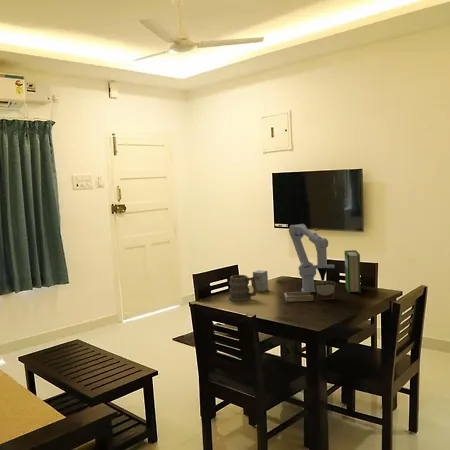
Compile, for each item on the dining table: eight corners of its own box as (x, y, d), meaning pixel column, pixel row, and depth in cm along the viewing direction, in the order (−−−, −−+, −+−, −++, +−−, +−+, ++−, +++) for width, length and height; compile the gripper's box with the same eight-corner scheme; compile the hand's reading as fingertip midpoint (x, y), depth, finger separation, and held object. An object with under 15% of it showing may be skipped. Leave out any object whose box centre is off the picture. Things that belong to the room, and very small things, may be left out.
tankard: (226, 300, 296) (225, 276, 295) (234, 295, 307) (233, 272, 306) (256, 302, 287) (255, 277, 286) (264, 297, 299) (263, 273, 297)
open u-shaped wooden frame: (284, 297, 296) (284, 292, 296) (310, 296, 296) (310, 291, 295) (286, 301, 285) (286, 296, 285) (313, 300, 285) (313, 295, 284)
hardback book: (360, 292, 298) (359, 254, 296) (348, 293, 299) (347, 254, 297) (357, 286, 315) (356, 250, 313) (345, 286, 316) (344, 250, 314)
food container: (335, 296, 292) (334, 280, 292) (336, 298, 286) (335, 282, 285) (314, 296, 294) (313, 280, 293) (315, 299, 288) (314, 282, 287)
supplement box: (259, 288, 324) (258, 270, 323) (268, 289, 320) (267, 270, 319) (253, 290, 318) (252, 272, 317) (262, 291, 314) (261, 272, 313)
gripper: (311, 259, 291) (311, 282, 292) (335, 258, 290) (335, 280, 292) (309, 258, 298) (310, 279, 299) (332, 256, 297) (333, 278, 299)
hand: (322, 280), depth 296 cm, fingers closed
